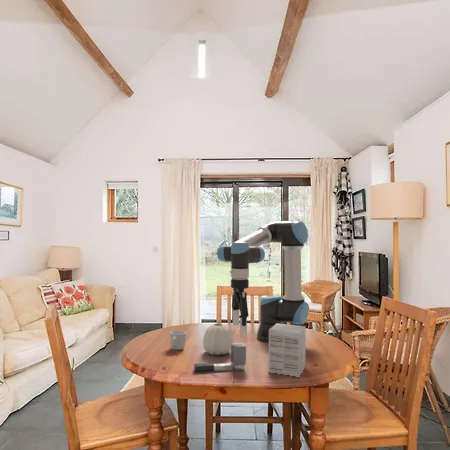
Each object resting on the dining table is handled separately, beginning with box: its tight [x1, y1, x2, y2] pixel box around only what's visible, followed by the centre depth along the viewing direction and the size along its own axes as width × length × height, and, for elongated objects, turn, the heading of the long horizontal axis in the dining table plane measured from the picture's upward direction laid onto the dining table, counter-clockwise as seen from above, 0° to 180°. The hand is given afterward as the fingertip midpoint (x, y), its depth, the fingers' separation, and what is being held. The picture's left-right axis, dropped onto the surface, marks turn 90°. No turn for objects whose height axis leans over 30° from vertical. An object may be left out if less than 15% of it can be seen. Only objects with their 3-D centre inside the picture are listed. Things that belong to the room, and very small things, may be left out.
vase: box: [202, 323, 233, 356], centre depth 170 cm, size 14×14×13 cm
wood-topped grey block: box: [230, 342, 247, 366], centre depth 149 cm, size 5×5×8 cm
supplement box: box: [267, 323, 307, 378], centre depth 149 cm, size 13×13×18 cm
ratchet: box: [193, 362, 245, 373], centre depth 147 cm, size 21×5×6 cm, turn 101°
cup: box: [169, 329, 187, 351], centre depth 174 cm, size 11×8×8 cm
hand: (239, 329), depth 150 cm, fingers open, 13 cm apart
